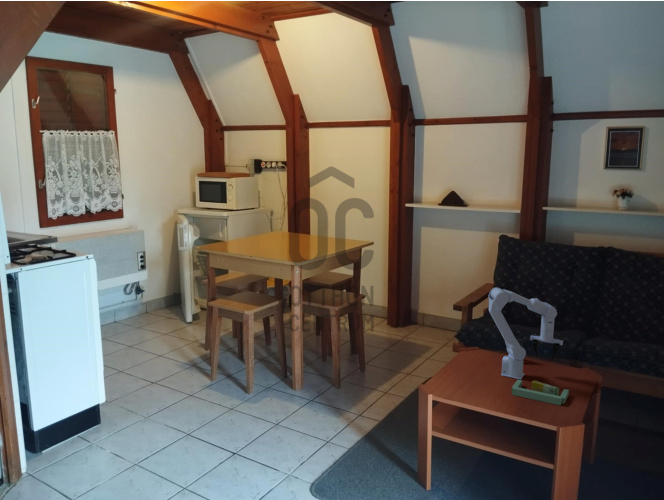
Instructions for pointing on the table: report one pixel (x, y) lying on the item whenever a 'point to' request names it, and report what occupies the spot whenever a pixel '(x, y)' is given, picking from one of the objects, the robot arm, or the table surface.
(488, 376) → the table surface
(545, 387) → the medication box
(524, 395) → the green u-shaped bracket
